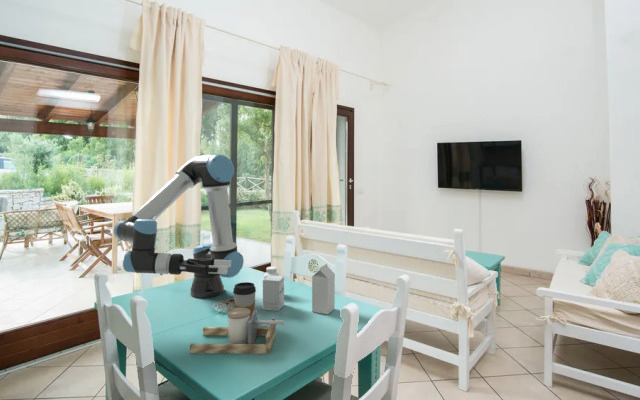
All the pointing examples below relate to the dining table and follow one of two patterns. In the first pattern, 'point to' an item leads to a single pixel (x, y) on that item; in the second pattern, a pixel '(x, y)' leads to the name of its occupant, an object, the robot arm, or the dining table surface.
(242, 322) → the cream jar
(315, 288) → the milk carton
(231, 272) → the robot arm
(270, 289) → the supplement box
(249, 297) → the coffee cup
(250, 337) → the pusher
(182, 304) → the dining table surface
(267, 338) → the lane
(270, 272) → the supplement bottle
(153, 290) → the dining table surface
